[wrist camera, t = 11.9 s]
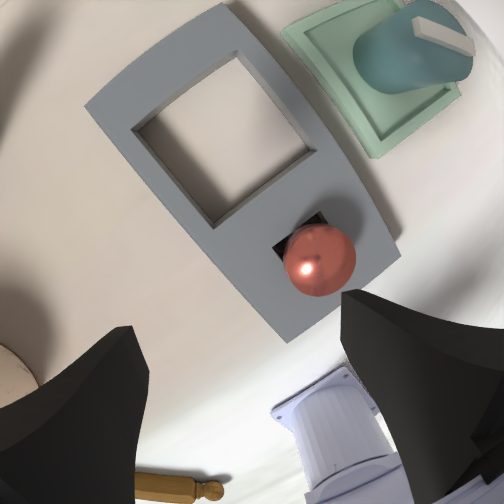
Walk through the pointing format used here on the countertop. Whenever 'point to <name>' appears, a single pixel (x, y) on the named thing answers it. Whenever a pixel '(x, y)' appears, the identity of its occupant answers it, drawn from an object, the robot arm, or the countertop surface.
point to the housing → (267, 196)
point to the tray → (351, 83)
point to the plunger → (319, 259)
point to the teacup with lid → (14, 378)
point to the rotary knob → (414, 50)
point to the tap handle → (174, 489)
